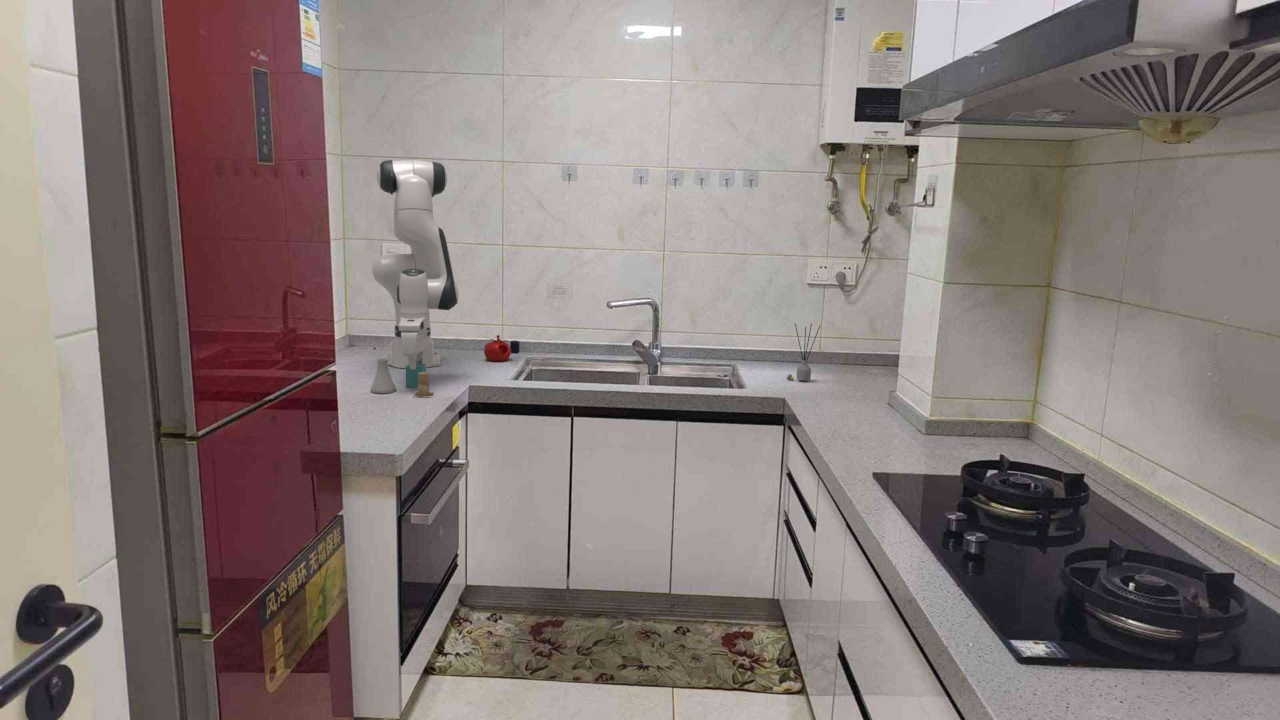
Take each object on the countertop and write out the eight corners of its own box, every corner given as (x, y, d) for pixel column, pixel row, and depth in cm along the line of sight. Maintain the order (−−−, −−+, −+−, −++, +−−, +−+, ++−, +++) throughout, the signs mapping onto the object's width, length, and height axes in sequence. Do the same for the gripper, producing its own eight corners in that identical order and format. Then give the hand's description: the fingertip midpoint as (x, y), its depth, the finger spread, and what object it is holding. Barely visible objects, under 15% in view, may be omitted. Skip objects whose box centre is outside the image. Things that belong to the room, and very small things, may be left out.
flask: (365, 392, 251) (364, 359, 249) (383, 387, 257) (382, 356, 256) (383, 395, 248) (382, 362, 246) (401, 390, 254) (400, 358, 252)
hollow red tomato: (479, 361, 303) (479, 336, 301) (490, 357, 312) (490, 332, 311) (505, 363, 301) (504, 338, 299) (515, 358, 310) (515, 334, 308)
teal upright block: (409, 383, 264) (409, 363, 262) (426, 384, 264) (425, 363, 263) (405, 387, 259) (405, 366, 257) (422, 387, 259) (422, 366, 258)
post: (417, 393, 251) (416, 371, 250) (433, 393, 251) (433, 371, 250) (413, 397, 246) (412, 374, 245) (430, 397, 246) (429, 374, 245)
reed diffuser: (816, 380, 285) (820, 322, 281) (817, 384, 278) (821, 325, 275) (786, 378, 287) (789, 321, 283) (786, 382, 280) (789, 323, 276)
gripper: (411, 318, 267) (413, 360, 269) (397, 326, 247) (398, 371, 249) (431, 318, 268) (433, 360, 270) (418, 326, 247) (420, 371, 250)
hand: (416, 366), depth 259 cm, fingers open, 8 cm apart
